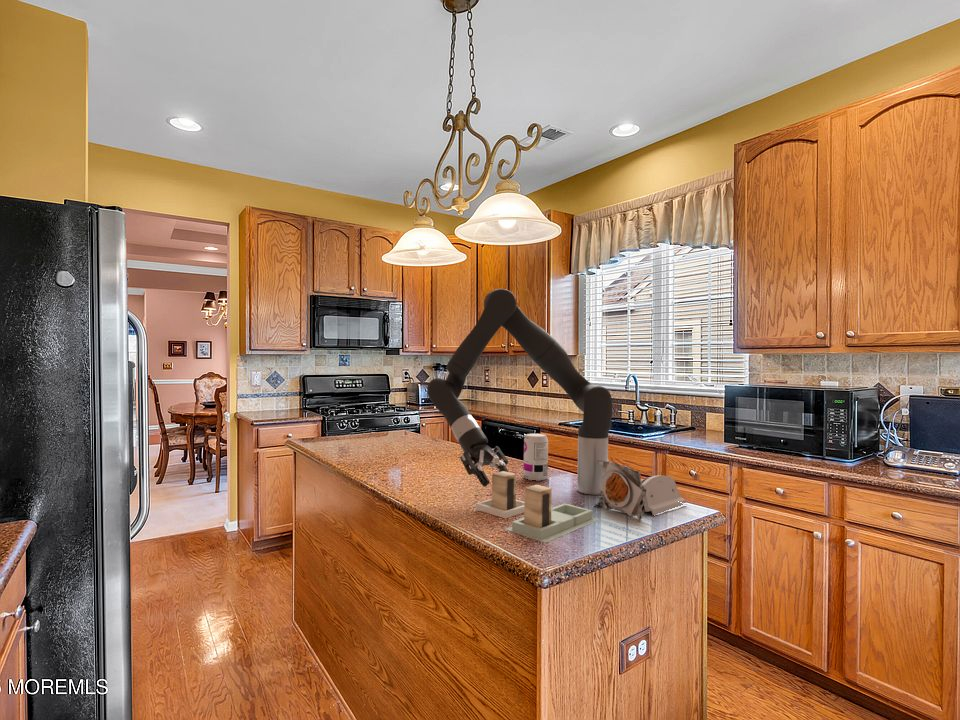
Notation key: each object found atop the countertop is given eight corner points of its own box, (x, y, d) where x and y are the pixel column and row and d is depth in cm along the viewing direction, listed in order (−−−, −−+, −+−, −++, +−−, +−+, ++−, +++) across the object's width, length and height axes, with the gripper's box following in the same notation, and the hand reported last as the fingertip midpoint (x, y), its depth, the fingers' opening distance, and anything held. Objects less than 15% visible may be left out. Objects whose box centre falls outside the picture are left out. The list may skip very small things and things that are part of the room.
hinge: (653, 516, 133) (643, 478, 136) (639, 518, 137) (629, 481, 139) (687, 506, 143) (677, 470, 146) (673, 507, 147) (663, 473, 150)
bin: (502, 504, 142) (502, 495, 142) (531, 513, 134) (531, 504, 134) (475, 512, 134) (475, 503, 134) (505, 522, 127) (505, 512, 127)
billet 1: (502, 507, 138) (503, 471, 137) (515, 511, 134) (516, 474, 134) (491, 511, 134) (492, 473, 134) (504, 515, 131) (505, 476, 131)
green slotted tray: (560, 512, 136) (561, 501, 136) (600, 523, 127) (600, 511, 127) (504, 533, 119) (504, 520, 119) (545, 547, 111) (545, 533, 111)
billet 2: (535, 525, 122) (536, 484, 122) (551, 530, 118) (552, 488, 118) (524, 530, 118) (524, 487, 118) (539, 535, 115) (540, 491, 115)
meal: (591, 507, 141) (592, 460, 140) (601, 505, 143) (602, 459, 143) (636, 522, 128) (637, 471, 128) (646, 519, 131) (647, 469, 131)
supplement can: (521, 480, 170) (521, 436, 170) (526, 474, 178) (527, 432, 178) (545, 482, 168) (545, 437, 168) (549, 476, 176) (549, 433, 176)
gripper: (457, 428, 137) (487, 478, 129) (493, 424, 147) (522, 470, 139) (444, 445, 141) (472, 495, 133) (479, 440, 151) (508, 485, 143)
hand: (498, 482), depth 136 cm, fingers open, 8 cm apart
